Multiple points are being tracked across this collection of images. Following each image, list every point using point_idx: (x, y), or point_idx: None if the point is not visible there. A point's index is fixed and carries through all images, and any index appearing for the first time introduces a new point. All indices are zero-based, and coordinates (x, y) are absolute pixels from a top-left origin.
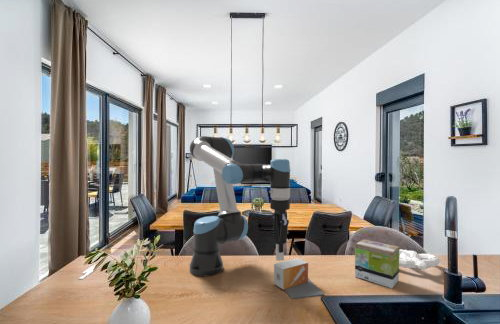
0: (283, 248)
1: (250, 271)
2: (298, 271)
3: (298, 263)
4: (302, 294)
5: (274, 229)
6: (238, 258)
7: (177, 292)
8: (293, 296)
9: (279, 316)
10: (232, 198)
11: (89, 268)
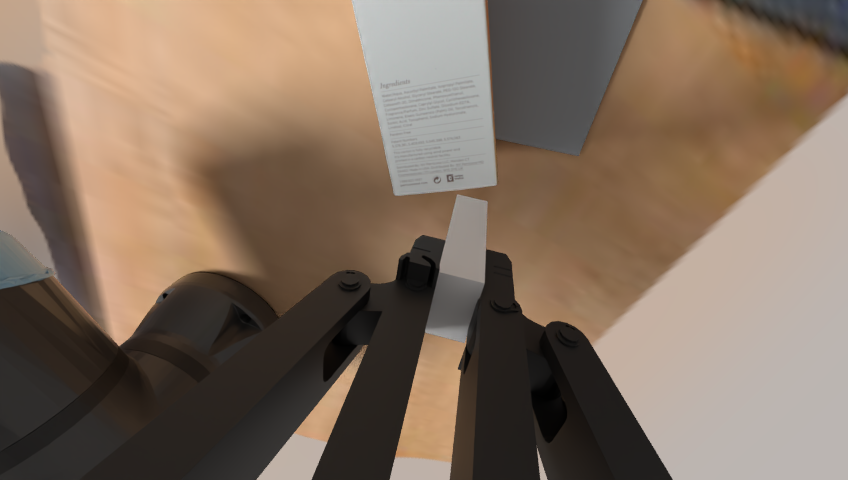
0: (485, 254)
1: (262, 191)
2: (489, 33)
3: (456, 5)
4: (588, 81)
5: (288, 436)
6: (110, 178)
7: None
8: (575, 140)
9: (649, 265)
10: None
11: None
